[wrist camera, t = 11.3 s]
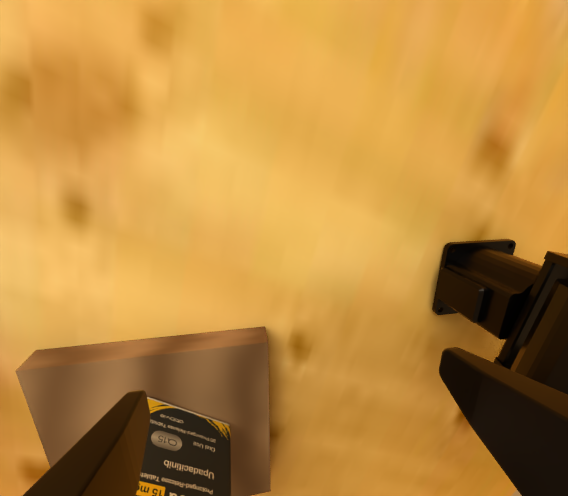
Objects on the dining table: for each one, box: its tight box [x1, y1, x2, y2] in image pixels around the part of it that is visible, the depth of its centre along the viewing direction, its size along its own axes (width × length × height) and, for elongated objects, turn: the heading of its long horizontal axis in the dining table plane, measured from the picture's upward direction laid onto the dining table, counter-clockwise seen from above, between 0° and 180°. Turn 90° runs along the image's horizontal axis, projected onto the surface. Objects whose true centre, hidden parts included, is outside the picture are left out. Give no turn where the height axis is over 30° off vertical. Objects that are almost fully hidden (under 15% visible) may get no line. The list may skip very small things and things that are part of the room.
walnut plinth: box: [16, 327, 270, 496], centre depth 23 cm, size 16×16×2 cm
